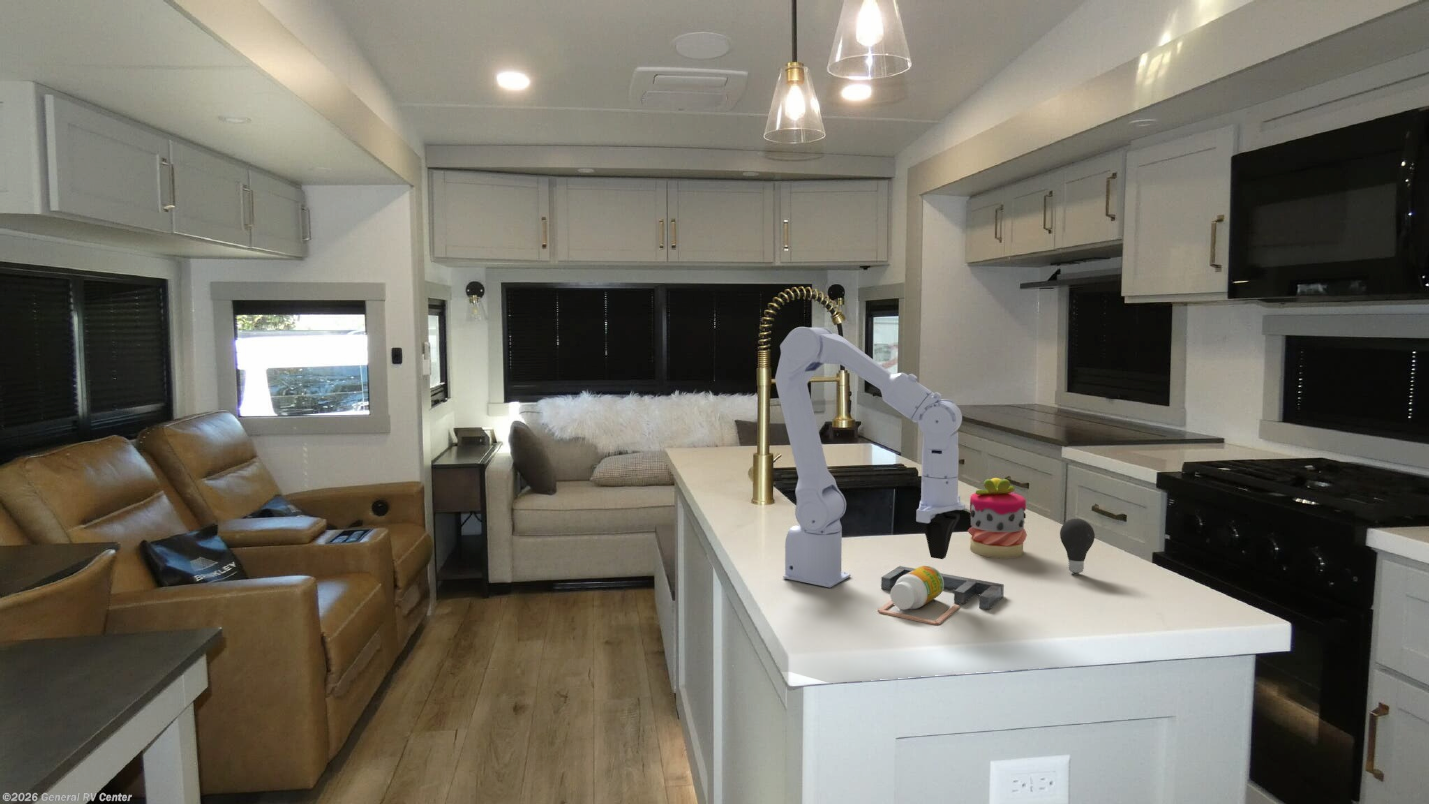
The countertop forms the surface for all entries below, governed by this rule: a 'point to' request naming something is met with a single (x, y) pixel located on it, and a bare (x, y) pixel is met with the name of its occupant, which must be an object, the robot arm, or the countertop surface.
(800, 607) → the countertop surface
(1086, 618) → the countertop surface
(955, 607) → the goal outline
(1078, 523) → the light bulb
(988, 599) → the rail
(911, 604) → the supplement bottle
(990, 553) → the cake
